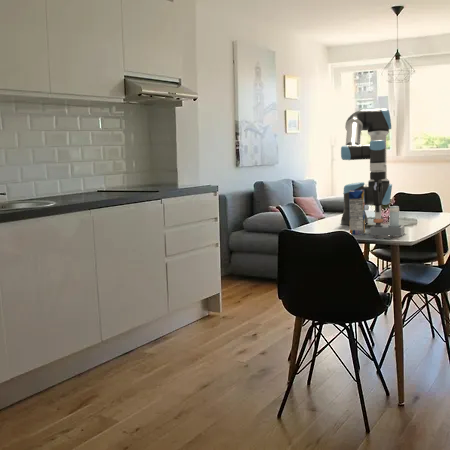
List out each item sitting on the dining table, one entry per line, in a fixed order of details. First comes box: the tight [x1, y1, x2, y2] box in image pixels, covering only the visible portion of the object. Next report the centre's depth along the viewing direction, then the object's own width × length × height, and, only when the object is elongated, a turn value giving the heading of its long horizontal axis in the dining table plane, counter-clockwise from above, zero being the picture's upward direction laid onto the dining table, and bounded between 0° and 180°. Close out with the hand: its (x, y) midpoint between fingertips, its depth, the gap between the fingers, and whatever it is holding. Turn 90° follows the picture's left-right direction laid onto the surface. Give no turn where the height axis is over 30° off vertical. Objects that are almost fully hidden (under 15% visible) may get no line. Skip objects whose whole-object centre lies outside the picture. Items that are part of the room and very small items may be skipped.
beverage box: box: [348, 190, 366, 236], centre depth 306 cm, size 7×11×22 cm, turn 163°
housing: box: [369, 224, 405, 237], centre depth 299 cm, size 15×9×4 cm, turn 62°
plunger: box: [372, 218, 384, 227], centre depth 301 cm, size 5×5×6 cm
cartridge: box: [389, 205, 400, 228], centre depth 297 cm, size 5×5×14 cm
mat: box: [372, 235, 394, 239], centre depth 289 cm, size 8×7×1 cm
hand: (378, 218), depth 300 cm, fingers closed
